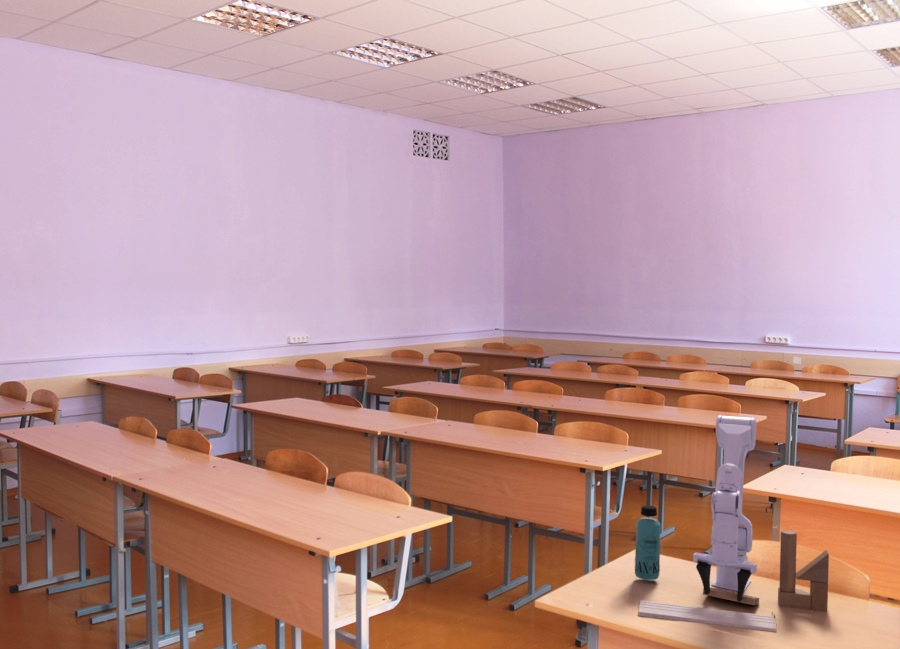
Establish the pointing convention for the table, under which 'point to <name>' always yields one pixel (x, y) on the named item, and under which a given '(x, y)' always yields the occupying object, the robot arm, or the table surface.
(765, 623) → the baseboard
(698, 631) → the table surface
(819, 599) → the wooden block
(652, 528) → the beverage bottle
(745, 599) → the plank
